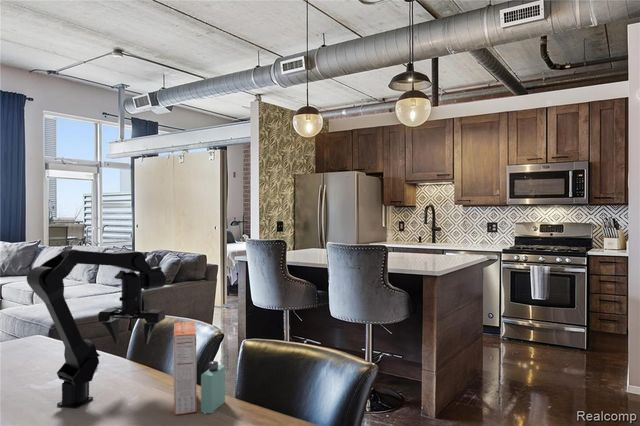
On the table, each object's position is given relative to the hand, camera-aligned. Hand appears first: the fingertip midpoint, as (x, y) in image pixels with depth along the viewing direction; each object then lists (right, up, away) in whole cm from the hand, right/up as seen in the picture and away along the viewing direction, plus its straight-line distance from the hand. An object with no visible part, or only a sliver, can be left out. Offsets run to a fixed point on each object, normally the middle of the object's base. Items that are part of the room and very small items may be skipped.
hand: (131, 343), depth 142 cm
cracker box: (+20, -13, -14) cm, 28 cm away
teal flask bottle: (+28, -12, -16) cm, 35 cm away
